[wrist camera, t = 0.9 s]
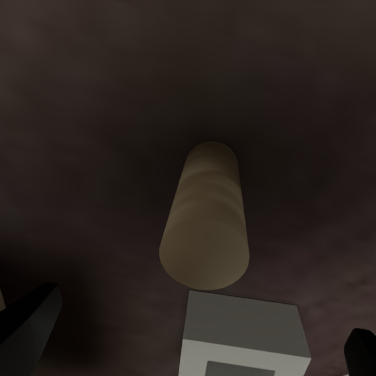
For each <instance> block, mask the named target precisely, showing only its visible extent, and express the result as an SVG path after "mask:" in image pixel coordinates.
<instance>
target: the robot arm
mask: <svg viewBox="0 0 376 376" xmlns="http://www.w3.org/2000/svg"><path fill="white" fill-rule="evenodd" d="M61 307H62V298H61V292H60V287H59V285H58V284H57V283H51V282H45V283H43V284H41V285H39V286H38V287H36V288H35V289H33V290H32V291H30V292H29V293H27V294H26V295H24V296H23V297H21V298H20V299H18V300H17V301H15V302H14V303H12V304H11V305H9V306H8V307H6V308H5V309H3V310H2V311H0V376H31V374H32V373H33V371H34V369H35V367H36V365H37V363H38V361H39V359H40V357H41V355H42V353H43V350H44V348H45V346H46V343H47V341H48V338H49V336H50V334H51V331H52V329H53V327H54V324H55V322H56V319H57V317H58V315H59V312H60V310H61ZM344 354H345V359H346V364H347V369H348V374H349V376H376V336H375V335H374V334H373V333H372V332H371V331H369V330H366V329H360V328H355V329H353V330H352V332H351V334H350V336H349V338H348V339H347V341H346V343H345V346H344Z"/></svg>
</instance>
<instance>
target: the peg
mask: <svg viewBox="0 0 376 376" xmlns="http://www.w3.org/2000/svg"><path fill="white" fill-rule="evenodd" d="M159 257H160V261H161V264H162V266H163V268H164V269H165V271H166V272H167V273H168V274H169V275H170V276H171V277H172V278H173V279H174V280H176V281H177V282H179V283H180V284H182V285H185V286H187V287H190V288H193V289H199V290H216V289H221V288H224V287H227V286H229V285H231V284H233V283H234V282H236V281H237V280H238V279H239V278H240V277H241V276H242V275H243V274H244V273H245V271H246V269H247V267H248V264H249V249H248V241H247V233H246V225H245V216H244V208H243V200H242V192H241V184H240V176H239V168H238V161H237V158H236V155H235V154H234V152H233V151H232V150H231V149H230V148H229V147H228V146H226V145H224V144H222V143H219V142H215V141H208V142H203V143H200V144H198V145H197V146H195V147H194V148H193V149H192V150H191V151H190V152H189V154H188V156H187V158H186V161H185V164H184V168H183V171H182V174H181V178H180V181H179V184H178V188H177V191H176V194H175V198H174V201H173V204H172V208H171V211H170V214H169V218H168V221H167V224H166V228H165V231H164V234H163V238H162V241H161V244H160V249H159Z"/></svg>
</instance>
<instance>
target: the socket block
mask: <svg viewBox="0 0 376 376" xmlns="http://www.w3.org/2000/svg"><path fill="white" fill-rule="evenodd" d="M310 360H311V355H310V352H309V348H308V345H307V341H306V337H305V334H304V330H303V327H302V323H301V319H300V316H299V312H298V309H297V306H296V305H289V304H282V303H275V302H268V301H261V300H254V299H247V298H240V297H233V296H226V295H219V294H212V293H205V292H197V291H190V290H189V296H188V304H187V311H186V319H185V327H184V334H183V342H182V351H181V360H180V368H179V376H303V375H304V373H305V371H306V369H307V367H308V365H309V362H310Z"/></svg>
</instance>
